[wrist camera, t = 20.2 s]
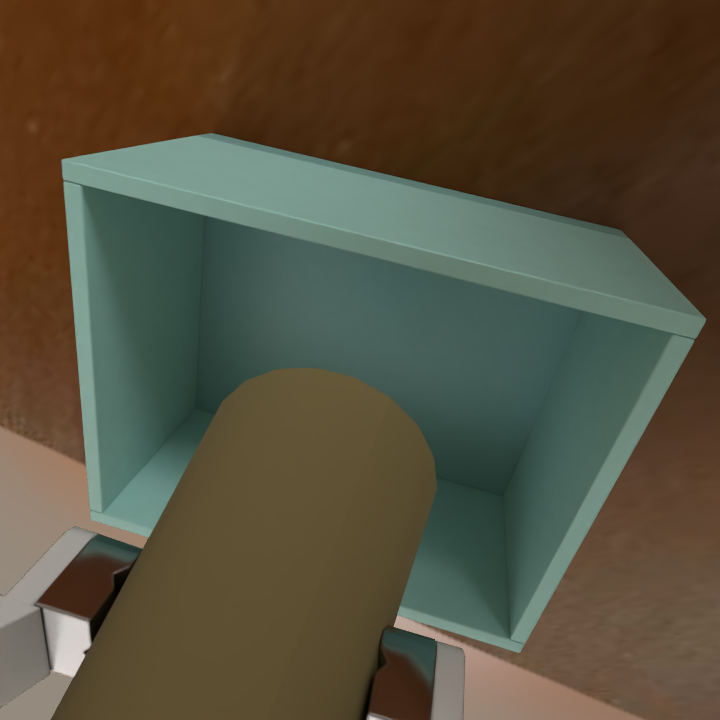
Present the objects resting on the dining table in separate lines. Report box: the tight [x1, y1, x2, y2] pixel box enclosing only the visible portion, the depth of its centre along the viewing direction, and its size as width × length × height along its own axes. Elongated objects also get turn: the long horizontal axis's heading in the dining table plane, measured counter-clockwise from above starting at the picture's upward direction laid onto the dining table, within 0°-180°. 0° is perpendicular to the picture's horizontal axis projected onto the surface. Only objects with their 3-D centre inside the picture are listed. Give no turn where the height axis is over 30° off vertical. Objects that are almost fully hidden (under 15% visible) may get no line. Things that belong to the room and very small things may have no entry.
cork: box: [51, 368, 437, 720], centre depth 9 cm, size 6×6×11 cm
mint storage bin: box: [62, 133, 706, 653], centre depth 18 cm, size 8×15×12 cm
